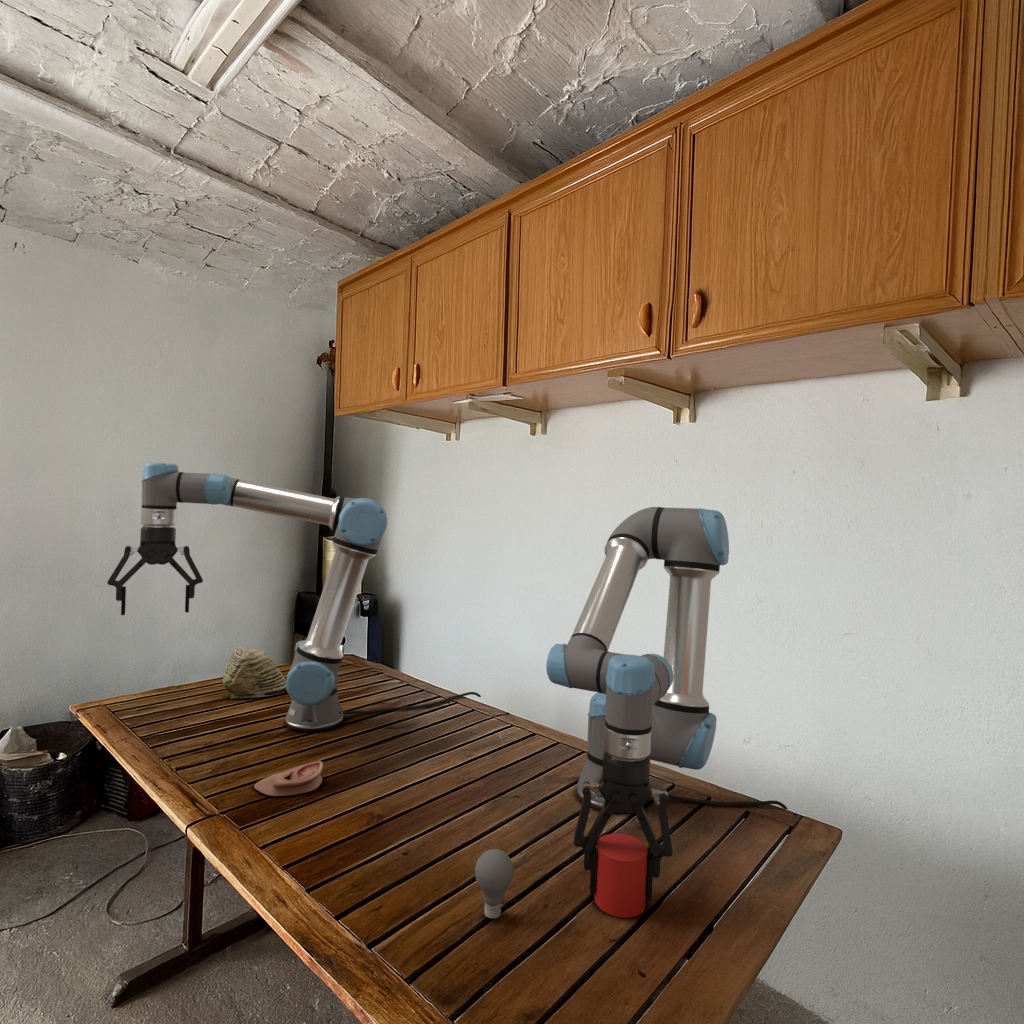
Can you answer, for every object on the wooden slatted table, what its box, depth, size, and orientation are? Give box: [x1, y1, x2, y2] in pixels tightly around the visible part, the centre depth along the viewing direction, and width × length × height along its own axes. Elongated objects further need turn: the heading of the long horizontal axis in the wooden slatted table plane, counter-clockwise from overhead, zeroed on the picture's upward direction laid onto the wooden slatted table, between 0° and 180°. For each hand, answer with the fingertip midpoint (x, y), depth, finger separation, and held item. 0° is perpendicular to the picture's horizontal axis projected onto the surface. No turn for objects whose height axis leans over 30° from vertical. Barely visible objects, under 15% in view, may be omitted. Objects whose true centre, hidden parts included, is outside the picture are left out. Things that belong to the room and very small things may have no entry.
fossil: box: [222, 646, 287, 699], centre depth 198 cm, size 9×18×15 cm, turn 132°
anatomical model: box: [253, 760, 324, 797], centre depth 138 cm, size 13×4×12 cm
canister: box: [594, 833, 649, 919], centre depth 103 cm, size 8×8×9 cm
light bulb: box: [474, 848, 515, 919], centre depth 98 cm, size 6×6×10 cm
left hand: (155, 613), depth 155 cm, fingers open, 13 cm apart
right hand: (620, 891), depth 103 cm, fingers open, 8 cm apart
